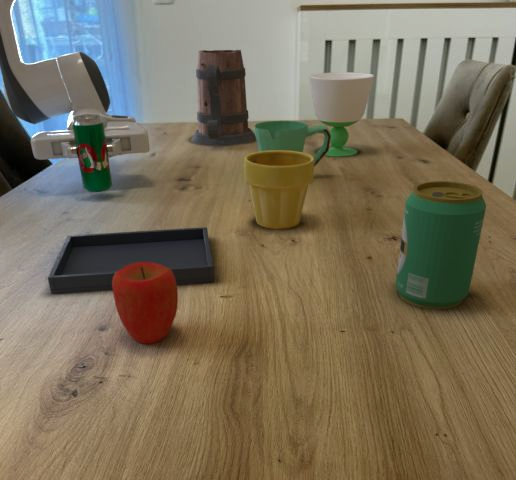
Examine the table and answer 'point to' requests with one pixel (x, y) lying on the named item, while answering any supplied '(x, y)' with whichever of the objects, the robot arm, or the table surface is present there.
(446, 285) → the beverage can
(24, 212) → the table surface
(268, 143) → the mug
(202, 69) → the tankard
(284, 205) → the flower pot
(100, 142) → the soda can
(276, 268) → the table surface
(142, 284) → the apple
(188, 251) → the tray
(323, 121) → the cup
